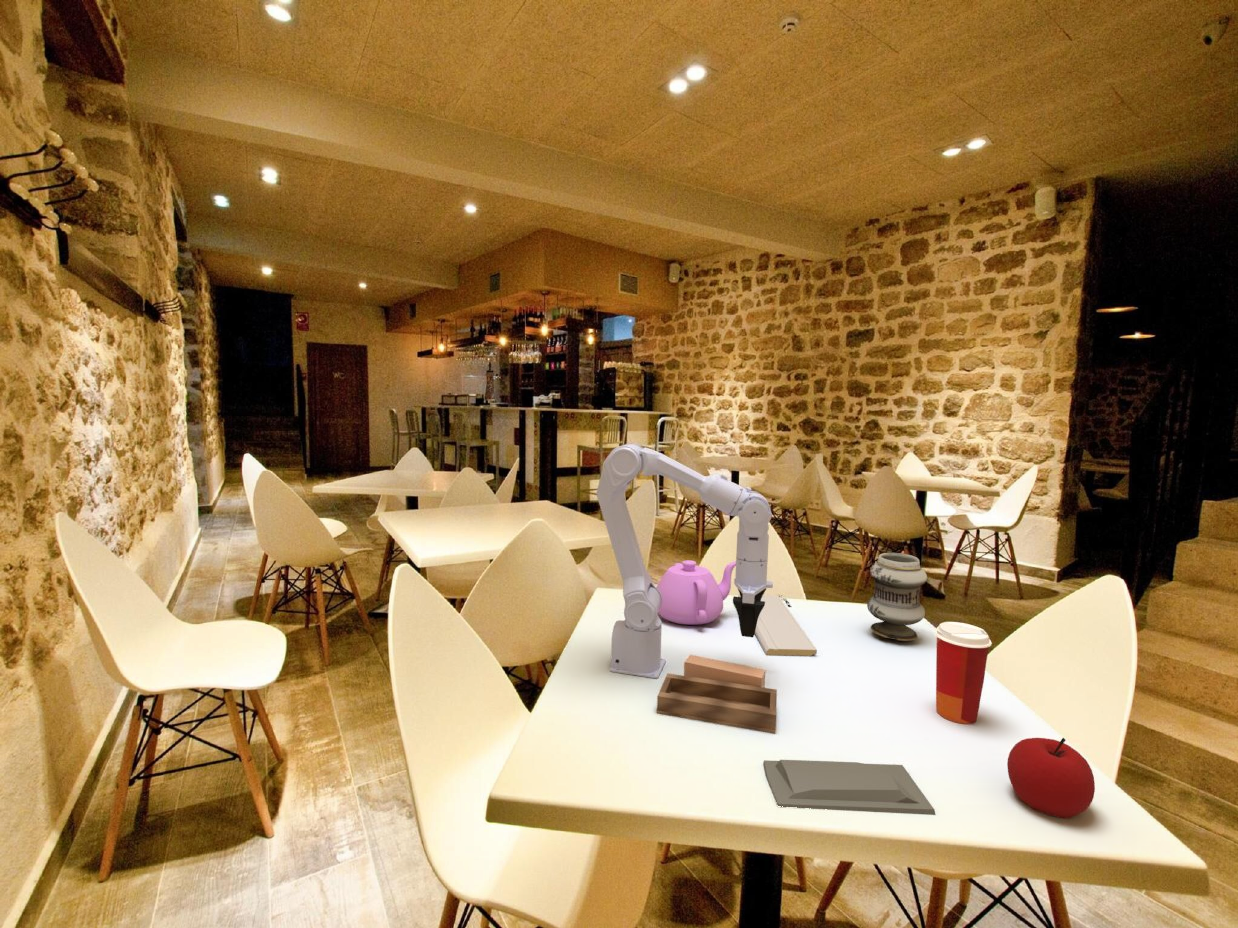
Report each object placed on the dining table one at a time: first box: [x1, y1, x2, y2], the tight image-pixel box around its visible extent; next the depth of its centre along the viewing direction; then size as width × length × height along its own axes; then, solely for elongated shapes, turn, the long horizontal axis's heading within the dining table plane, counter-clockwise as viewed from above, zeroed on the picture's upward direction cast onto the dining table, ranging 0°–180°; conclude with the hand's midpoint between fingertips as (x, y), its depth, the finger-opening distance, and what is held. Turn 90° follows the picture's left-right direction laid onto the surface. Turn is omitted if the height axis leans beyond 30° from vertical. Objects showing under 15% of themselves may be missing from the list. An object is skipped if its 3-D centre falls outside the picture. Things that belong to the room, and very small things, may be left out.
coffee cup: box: [933, 621, 993, 725], centre depth 96 cm, size 8×8×15 cm
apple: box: [1006, 737, 1096, 819], centre depth 74 cm, size 9×9×10 cm
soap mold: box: [762, 759, 936, 816], centre depth 77 cm, size 10×20×4 cm, turn 88°
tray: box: [656, 672, 778, 735], centre depth 96 cm, size 19×9×4 cm, turn 74°
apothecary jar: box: [866, 552, 928, 642], centre depth 132 cm, size 12×12×18 cm
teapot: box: [655, 559, 736, 626], centre depth 141 cm, size 22×22×14 cm
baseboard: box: [737, 594, 818, 657], centre depth 134 cm, size 31×3×12 cm
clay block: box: [683, 654, 766, 688], centre depth 104 cm, size 14×4×5 cm, turn 66°
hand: (748, 628), depth 108 cm, fingers open, 7 cm apart
